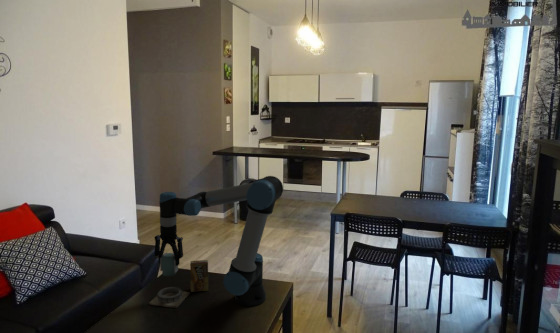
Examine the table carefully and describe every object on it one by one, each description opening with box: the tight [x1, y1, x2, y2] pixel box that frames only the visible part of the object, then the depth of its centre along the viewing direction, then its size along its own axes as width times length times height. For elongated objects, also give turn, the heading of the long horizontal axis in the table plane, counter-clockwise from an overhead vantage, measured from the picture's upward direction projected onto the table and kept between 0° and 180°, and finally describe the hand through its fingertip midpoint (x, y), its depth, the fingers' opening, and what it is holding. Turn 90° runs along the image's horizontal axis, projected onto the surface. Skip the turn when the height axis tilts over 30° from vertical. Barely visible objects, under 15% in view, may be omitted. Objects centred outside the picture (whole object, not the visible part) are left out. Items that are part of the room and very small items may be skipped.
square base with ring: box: [148, 286, 191, 309], centre depth 184 cm, size 14×14×4 cm
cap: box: [161, 252, 177, 277], centre depth 182 cm, size 6×6×10 cm
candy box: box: [190, 259, 209, 293], centre depth 193 cm, size 9×4×15 cm, turn 103°
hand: (169, 270), depth 182 cm, fingers closed on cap, 6 cm apart
